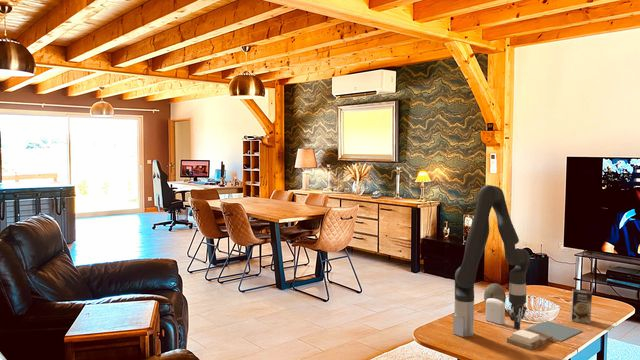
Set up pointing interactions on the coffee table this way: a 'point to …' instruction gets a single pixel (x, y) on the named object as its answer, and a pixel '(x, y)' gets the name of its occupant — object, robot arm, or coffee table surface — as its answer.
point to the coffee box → (581, 306)
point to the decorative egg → (494, 292)
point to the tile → (525, 336)
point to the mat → (555, 330)
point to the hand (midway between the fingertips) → (517, 329)
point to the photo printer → (495, 311)
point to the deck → (542, 340)
